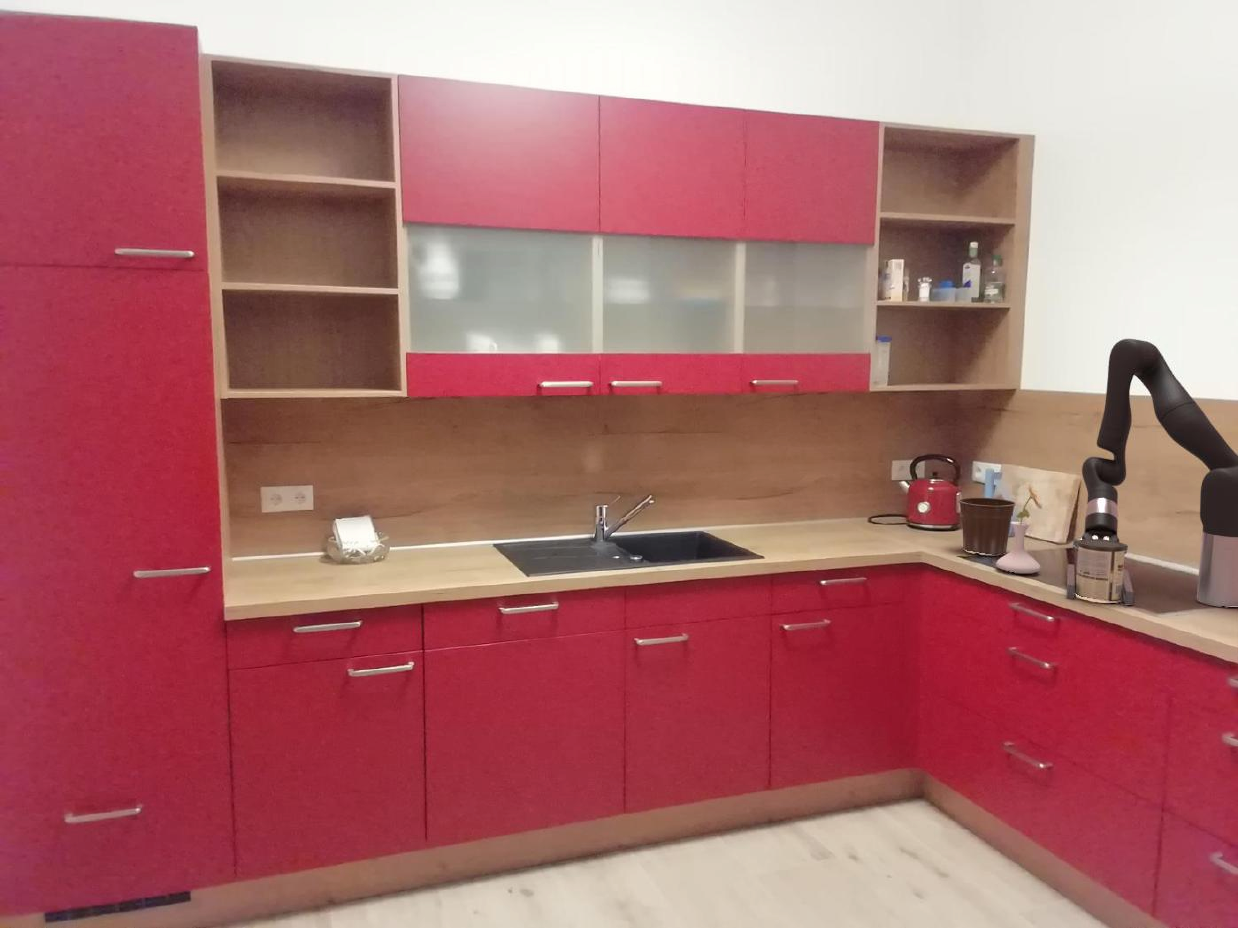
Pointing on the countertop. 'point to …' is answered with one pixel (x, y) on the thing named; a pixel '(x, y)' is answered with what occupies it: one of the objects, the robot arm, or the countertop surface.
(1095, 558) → the coffee can
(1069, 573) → the grey frame
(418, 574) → the countertop surface
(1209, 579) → the robot arm
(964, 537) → the plant pot
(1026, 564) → the flower in vase
